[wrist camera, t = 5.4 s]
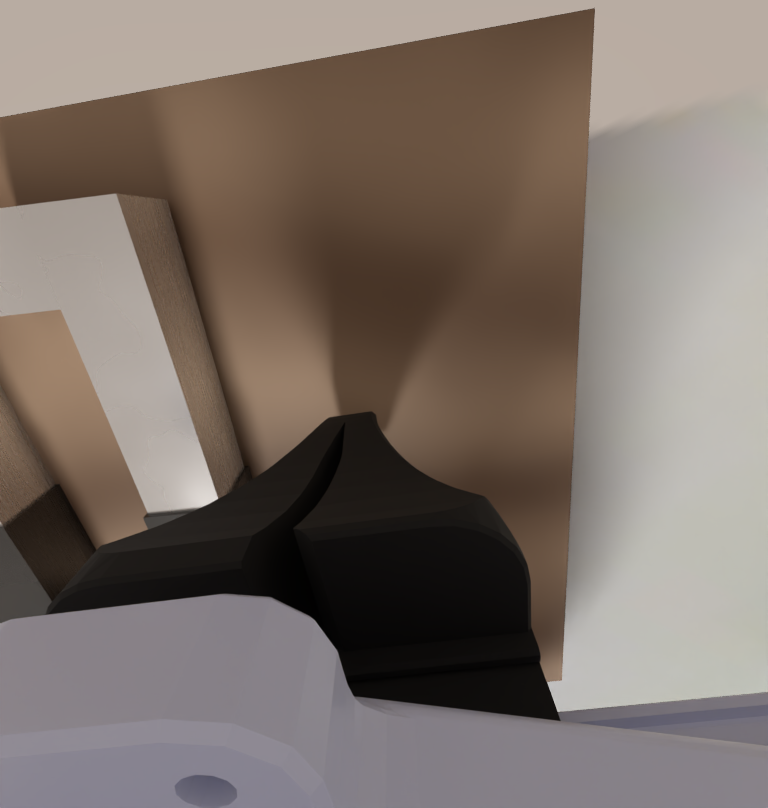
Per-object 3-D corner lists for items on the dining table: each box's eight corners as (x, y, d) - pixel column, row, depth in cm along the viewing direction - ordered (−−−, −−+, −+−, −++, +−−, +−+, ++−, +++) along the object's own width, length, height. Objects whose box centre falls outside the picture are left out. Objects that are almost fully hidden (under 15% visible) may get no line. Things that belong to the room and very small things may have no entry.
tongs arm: (309, 678, 17) (298, 749, 15) (168, 689, 17) (135, 760, 15) (172, 199, 10) (107, 190, 7) (-69, 229, 10) (-204, 230, 8)
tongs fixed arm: (176, 608, 15) (146, 666, 13) (80, 619, 16) (36, 677, 14) (-13, 224, 10) (-112, 224, 8) (-157, 248, 10) (-288, 254, 8)
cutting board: (548, 646, 19) (561, 680, 17) (111, 689, 20) (91, 724, 18) (564, 39, 10) (594, 8, 8) (-225, 181, 11) (-313, 174, 10)
